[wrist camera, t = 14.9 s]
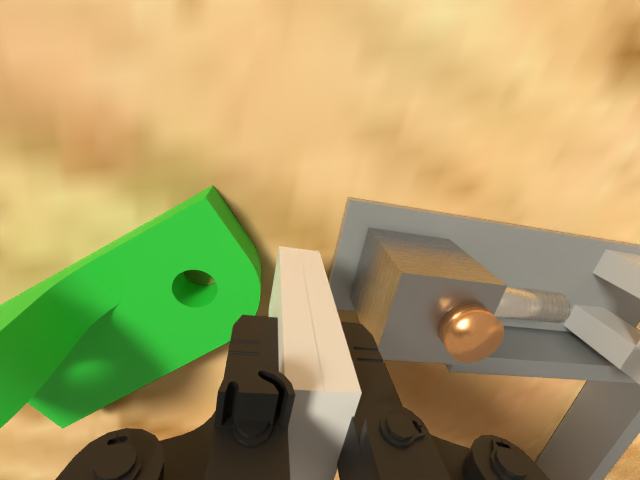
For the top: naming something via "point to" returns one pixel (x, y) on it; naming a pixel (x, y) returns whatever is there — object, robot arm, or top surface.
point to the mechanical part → (127, 313)
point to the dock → (534, 336)
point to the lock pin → (438, 300)
